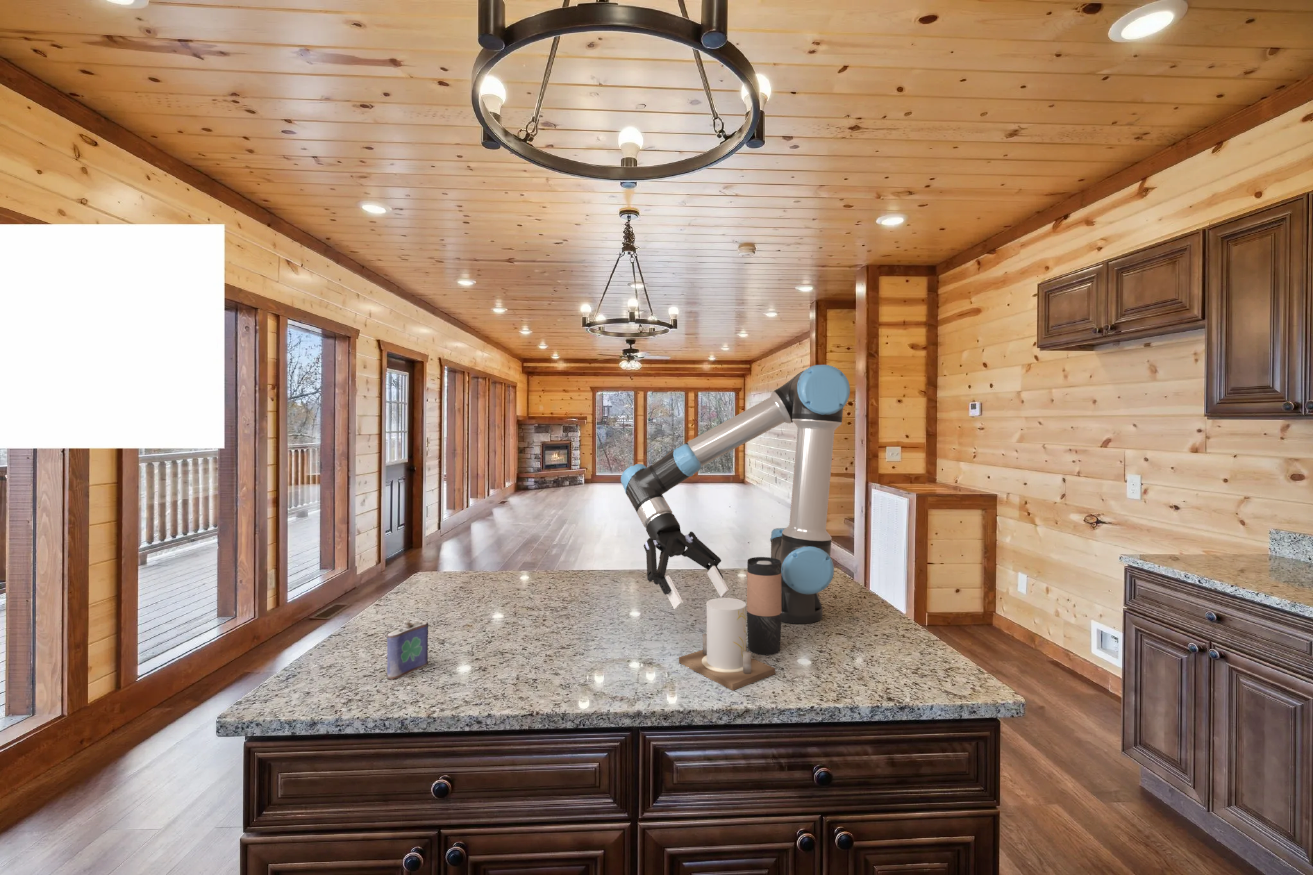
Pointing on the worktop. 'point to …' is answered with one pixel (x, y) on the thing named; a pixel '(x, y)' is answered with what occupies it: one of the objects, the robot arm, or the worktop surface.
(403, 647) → the flask
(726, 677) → the tray
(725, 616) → the cup
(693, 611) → the worktop surface
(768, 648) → the travel mug
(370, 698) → the worktop surface
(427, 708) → the worktop surface
